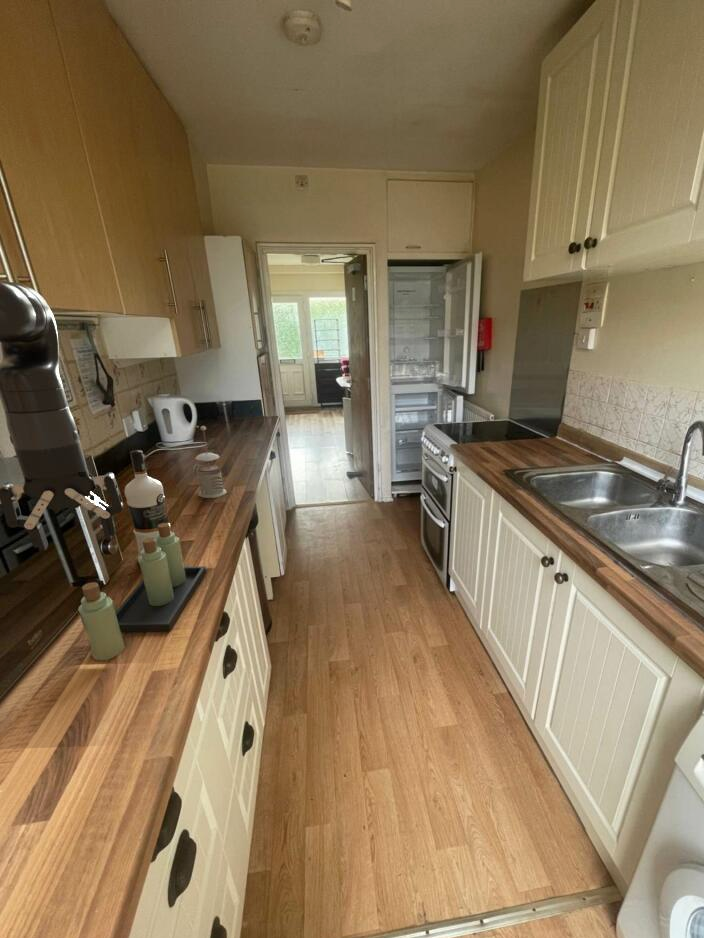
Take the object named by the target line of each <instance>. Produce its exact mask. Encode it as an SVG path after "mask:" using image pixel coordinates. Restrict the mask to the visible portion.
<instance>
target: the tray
mask: <svg viewBox="0 0 704 938" xmlns="http://www.w3.org/2000/svg"><path fill="white" fill-rule="evenodd" d="M206 568H207V567H206V566H203V565H202V566H184V569H185V575H186V581H185V582H184V583H183V584H181V585H178V586H175V587H172V588H173V593H174V599H173V600H172V601H171V602H169V603H167V604H165V605H161V606H152V605H150V604H149V602H148V598H147V593H146V589H145V585H144V580H143V579H141V580H140V582H139V583H138V584H137V585H136V586H135V588H134V589H133V590H132V591H131V592H130V594H129V595H128V596H127V597H126V598H125V599H124V601H123V602H122V603H121V604H120V605H119V607H118V608H117V609H115V612H116V616H117V619H118V623H119V627H120V630H121V634H123V633H169V632H171V631H172V630H173V628H174V626H175V625H176V623H177V621H178V620H179V618H180V617H181V615H182V614H183V611H185V608H186V607H187V605H188V604H189V602H190V601H191V598H192V597H193V595H194V594H195V592H196V591H197V589H198V588H199V586H200V584H201V583H202V580H203V579H204V577H205V576H206V574H207V569H206Z"/></svg>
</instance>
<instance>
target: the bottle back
mask: <svg viewBox="0 0 704 938" xmlns="http://www.w3.org/2000/svg"><path fill="white" fill-rule="evenodd" d="M169 523H170V522H169ZM169 523H161V524H159V525H158V531H159V534H157V536H156V538H157V540H155V541H156V546H157V547H160V548H161V551H162V552H165V554H166V558H167V563H168V568H169V573H170V578H171V583H172V587H175V586H178V585H181V584H183V583H184V582H185V581H186V575H185V569H184V567H185V563H184V559H183V554H182V548H181V543H180V537H178V536H176V535H175V532H174V531H170V530H171V525H170V526H169Z"/></svg>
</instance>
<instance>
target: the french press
mask: <svg viewBox="0 0 704 938" xmlns="http://www.w3.org/2000/svg"><path fill="white" fill-rule="evenodd" d="M199 430H200V431H202V432H203V433H205V431H206V430H207V427H206V426H205V425H202V426H200V429H199ZM205 435H206V434H203V438H204V440H206V436H205ZM204 444H205V447H207V443H206V441H204ZM205 451H206V452H203V453H200V454H198V455H197V456H196V457H195V460H196V461H197V462H201V464H198V463H196V464H195V465H194V467H193V469H192V477H193V480H194V481H195V482H196V483H197V484H199V489H200V491H199V493H198V496H199V497H201V498H204V499H205V498H206V499H212V498H219V497H222V496H224V495H226V494H227V490H226V489H225V488H224V484H223V476H222V475H223V474H222V470H221V469H220V466H219V465H216V464H214V465H213V464H212V465H210V463H209V462H212V461H213V462H214V461H217V460H218V459H220V456H219V454H218V453H213V452H208V449H207V448H205ZM202 462H203V463H205V462H207V465H203V464H202ZM196 466H197V469H196V473H195V468H196ZM195 475H196V478H195ZM196 480H197V481H196Z"/></svg>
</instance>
